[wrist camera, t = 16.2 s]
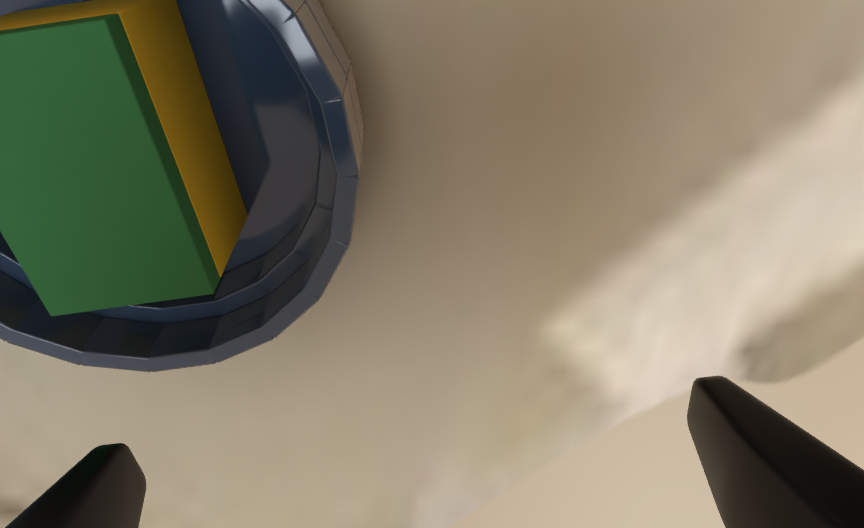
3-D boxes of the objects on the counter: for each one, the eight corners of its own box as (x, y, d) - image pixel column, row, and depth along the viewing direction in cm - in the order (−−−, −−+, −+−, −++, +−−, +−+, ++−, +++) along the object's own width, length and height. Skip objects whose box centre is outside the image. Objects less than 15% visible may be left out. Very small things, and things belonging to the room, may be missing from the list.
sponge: (9, 12, 16) (-109, 50, 12) (172, -12, 16) (104, 19, 12) (115, 235, 20) (50, 317, 16) (248, 216, 20) (214, 294, 16)
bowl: (308, -172, 15) (282, -190, 11) (393, 270, 22) (393, 340, 18) (-209, -93, 15) (-383, -88, 12) (41, 319, 22) (-23, 396, 19)
